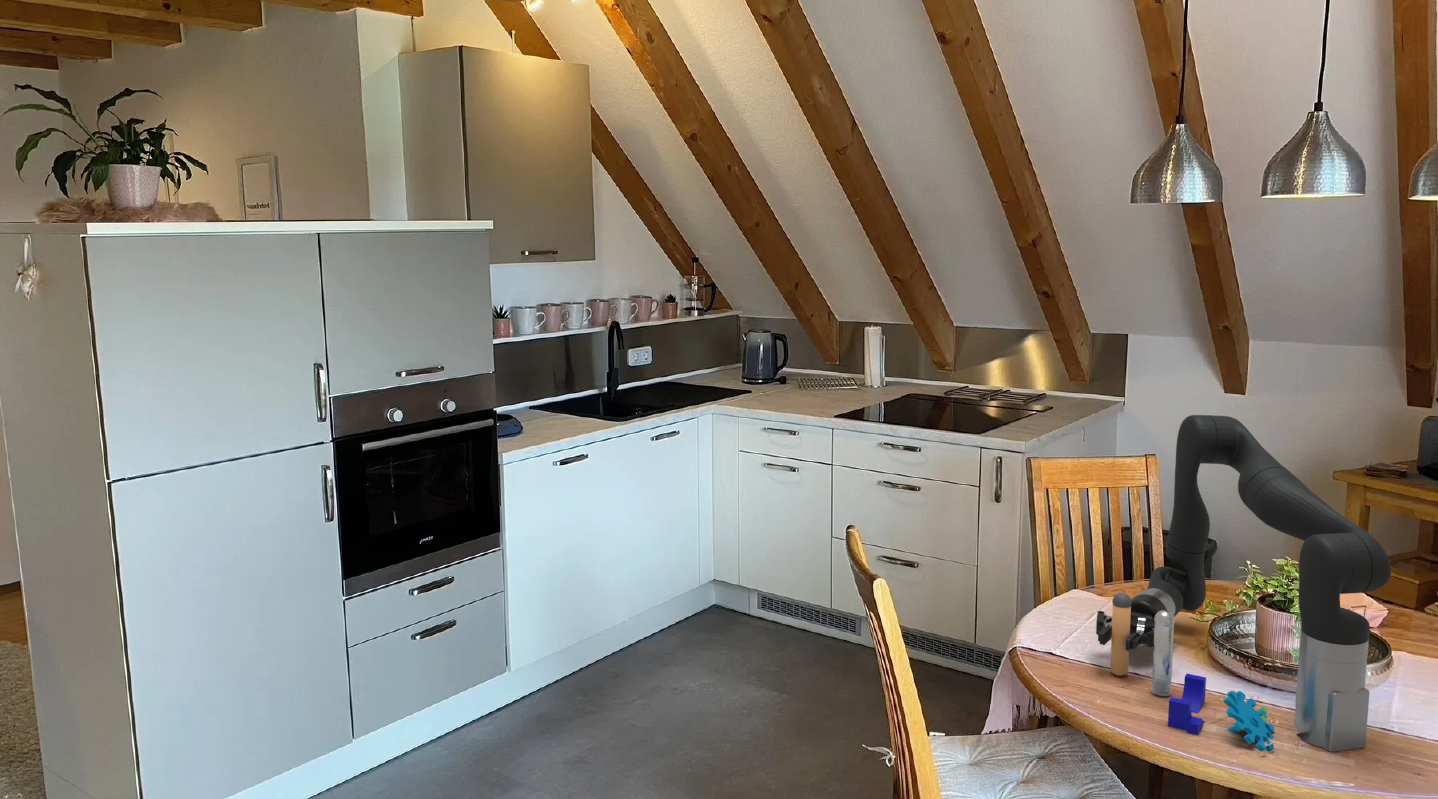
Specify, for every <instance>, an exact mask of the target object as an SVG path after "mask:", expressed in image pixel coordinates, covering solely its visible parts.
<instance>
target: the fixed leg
mask: <svg viewBox="0 0 1438 799" xmlns="http://www.w3.org/2000/svg"><path fill="white" fill-rule="evenodd" d="M1154 621H1155V628H1154V647H1153V649H1152V650H1153V651H1152V652H1153V654H1152V672H1151V673H1152V674H1151V693H1152V694H1154V695H1155V696H1159V697H1167V696H1170V695H1171V692H1172V674H1173V653H1174V652H1173V651H1174V650H1173V649H1174V633H1175V631H1174V629H1175V623H1176V620H1175V617H1174V616H1173V615H1172V613H1170V612H1169V611H1166V610H1162V611H1159V612H1158V613H1156V615H1155V617H1154Z"/></svg>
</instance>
